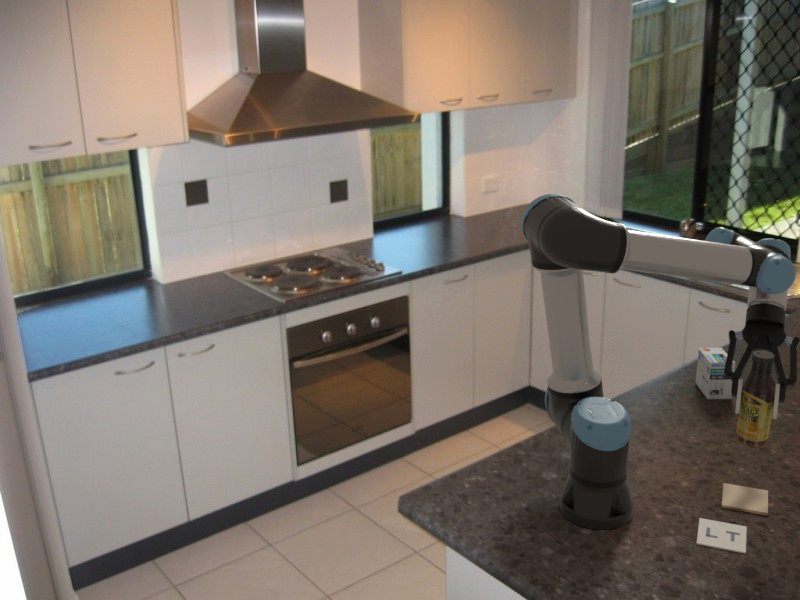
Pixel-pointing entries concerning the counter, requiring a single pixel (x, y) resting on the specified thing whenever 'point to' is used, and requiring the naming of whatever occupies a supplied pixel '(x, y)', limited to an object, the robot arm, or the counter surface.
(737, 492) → the coaster
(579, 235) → the robot arm
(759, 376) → the sauce bottle
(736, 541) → the tile
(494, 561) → the counter surface
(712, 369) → the light bulb box
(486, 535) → the counter surface
